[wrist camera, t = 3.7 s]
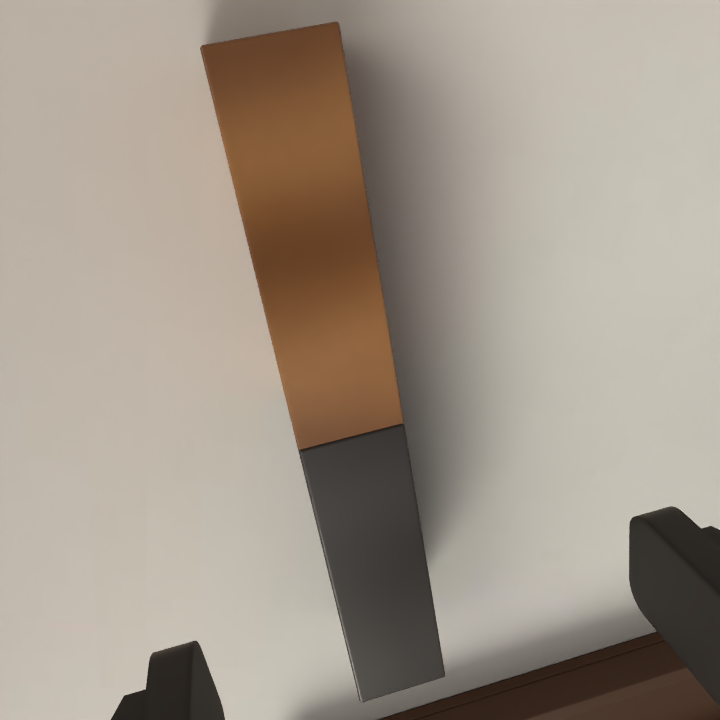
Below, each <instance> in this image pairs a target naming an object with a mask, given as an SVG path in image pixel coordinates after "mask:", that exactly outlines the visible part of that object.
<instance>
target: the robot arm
mask: <svg viewBox="0 0 720 720" xmlns="http://www.w3.org/2000/svg"><path fill="white" fill-rule="evenodd" d="M629 580H630V587H631V590H632V593H633V596H634V599H635V601H636V603H637V605H638V607H639V609H640V610H641V612H642V613H643V614H644V616H645V617H646V618H647V619H648V621H649V622H650V623H651V624H652V626H653V627H654V628H655V629H656V630H657V632H658V633H659V634H660V635H661V637H662V638H663V639H664V640H665V641H666V643H667V644H668V645H669V646H670V647H671V649H672V650H673V651H674V652H675V654H676V655H677V656H678V657H679V658H680V660H681V661H682V662H683V663H684V665H685V666H686V667H687V668H688V669H689V671H690V672H691V673H692V674H693V676H694V677H695V678H696V679H697V680H698V682H699V683H700V684H701V685H702V686H703V688H704V689H705V690H706V691H707V693H708V694H709V695H710V696H711V697H712V699H713V700H714V701H715V702H716V704H717V705H718V706H719V707H720V530H718V529H716V528H714V527H712V526H709V527H706V528H702V529H701V528H700V527H699V526H698V525H696V524H695V523H694V522H693V521H692V520H691V519H690V518H689V517H688V516H686V515H685V514H684V513H683V512H682V511H681V510H679V509H678V508H676V507H671V506H670V507H667V508H663V509H660V510H656V511H653V512H649V513H646V514H642V515H639V516H635V517H633V518H632V519H631V521H630V534H629ZM111 720H225V717H224V712H223V708H222V704H221V701H220V698H219V695H218V692H217V690H216V687H215V684H214V682H213V679H212V676H211V674H210V671H209V668H208V666H207V663H206V660H205V658H204V655H203V652H202V650H201V647H200V645H199V643H198V642H197V641H193V642H189V643H186V644H182V645H179V646H175V647H172V648H168V649H165V650H161V651H158V652H154V653H152V655H151V657H150V661H149V668H148V676H147V685H146V690H142V691H139V692H136V693H132V694H129V695H125V696H124V697H123V699H122V701H121V702H120V704H119V706H118V708H117V710H116V711H115V713H114V715H113V717H112V719H111Z"/></svg>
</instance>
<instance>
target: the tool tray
mask: <svg viewBox="0 0 720 720" xmlns="http://www.w3.org/2000/svg"><path fill="white" fill-rule="evenodd" d="M380 720H720V707H719V706H718V705H717V704H716V702H715V701H714V700H713V699H712V697H711V696H710V695H709V694H708V693H707V691H706V690H705V689H704V688H703V686H702V685H701V684H700V683H699V682H698V680H697V679H696V678H695V677H694V676H693V674H692V673H691V672H690V671H689V669H688V668H687V667H686V666H685V665H684V663H683V662H682V661H681V660H680V658H679V657H678V656H677V655H676V654H675V652H674V651H673V650H672V649H671V647H670V646H669V645H668V644H667V643H666V641H665V640H664V639H663V638H662V637H661V635H660V634H659V633H658V632H657V633H653V634H650V635H647V636H644V637H641V638H638V639H634V640H631V641H628V642H625V643H622V644H619V645H615V646H612V647H609V648H606V649H603V650H599V651H596V652H593V653H590V654H587V655H584V656H580V657H577V658H574V659H571V660H568V661H565V662H561V663H558V664H555V665H552V666H549V667H545V668H542V669H539V670H536V671H533V672H530V673H526V674H523V675H520V676H517V677H514V678H511V679H507V680H504V681H501V682H498V683H495V684H491V685H488V686H485V687H482V688H479V689H476V690H472V691H469V692H466V693H463V694H460V695H457V696H453V697H450V698H447V699H444V700H441V701H437V702H434V703H431V704H428V705H425V706H422V707H418V708H415V709H412V710H409V711H406V712H403V713H399V714H396V715H393V716H390V717H387V718H383V719H380Z"/></svg>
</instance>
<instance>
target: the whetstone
mask: <svg viewBox="0 0 720 720" xmlns="http://www.w3.org/2000/svg"><path fill="white" fill-rule="evenodd" d="M200 50H201V54H202V58H203V62H204V66H205V70H206V74H207V78H208V82H209V86H210V91H211V95H212V99H213V103H214V107H215V111H216V115H217V119H218V123H219V127H220V131H221V136H222V140H223V144H224V148H225V152H226V156H227V160H228V164H229V168H230V172H231V176H232V181H233V185H234V189H235V193H236V197H237V201H238V205H239V209H240V213H241V217H242V221H243V225H244V230H245V234H246V238H247V242H248V246H249V250H250V254H251V258H252V262H253V266H254V270H255V275H256V279H257V283H258V287H259V291H260V295H261V299H262V303H263V307H264V311H265V315H266V319H267V324H268V328H269V332H270V336H271V340H272V344H273V348H274V352H275V356H276V360H277V364H278V369H279V373H280V377H281V381H282V385H283V389H284V393H285V397H286V401H287V405H288V409H289V414H290V418H291V422H292V426H293V430H294V434H295V438H296V442H297V446H298V450H299V454H300V458H301V463H302V467H303V471H304V475H305V479H306V483H307V487H308V491H309V495H310V499H311V503H312V508H313V512H314V516H315V520H316V524H317V528H318V532H319V536H320V540H321V544H322V548H323V552H324V557H325V561H326V565H327V569H328V573H329V577H330V581H331V585H332V589H333V593H334V597H335V602H336V606H337V610H338V614H339V618H340V622H341V626H342V630H343V634H344V638H345V642H346V646H347V651H348V655H349V659H350V663H351V667H352V671H353V675H354V679H355V683H356V687H357V691H358V696H359V700H360V701H361V702H365V701H368V700H371V699H375V698H378V697H381V696H384V695H387V694H391V693H394V692H397V691H400V690H404V689H407V688H410V687H413V686H416V685H420V684H423V683H426V682H429V681H433V680H436V679H439V678H442V677H444V676H445V671H444V665H443V659H442V653H441V647H440V641H439V634H438V628H437V622H436V616H435V610H434V604H433V598H432V591H431V585H430V579H429V573H428V567H427V561H426V555H425V548H424V542H423V536H422V530H421V524H420V518H419V512H418V505H417V499H416V493H415V487H414V481H413V475H412V469H411V463H410V456H409V450H408V444H407V438H406V432H405V426H404V423H403V422H404V419H403V413H402V407H401V400H400V394H399V388H398V382H397V376H396V370H395V364H394V357H393V351H392V345H391V339H390V333H389V327H388V321H387V314H386V308H385V302H384V296H383V290H382V284H381V278H380V271H379V265H378V259H377V253H376V247H375V241H374V235H373V228H372V222H371V216H370V210H369V204H368V198H367V192H366V185H365V179H364V173H363V167H362V161H361V155H360V149H359V142H358V136H357V130H356V124H355V118H354V112H353V106H352V99H351V93H350V87H349V81H348V75H347V69H346V63H345V56H344V50H343V44H342V38H341V32H340V26H339V23H338V22H331V23H326V24H320V25H314V26H309V27H303V28H297V29H292V30H286V31H280V32H275V33H269V34H263V35H257V36H252V37H246V38H240V39H235V40H229V41H223V42H218V43H212V44H206V45H202V46H201V48H200Z"/></svg>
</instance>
